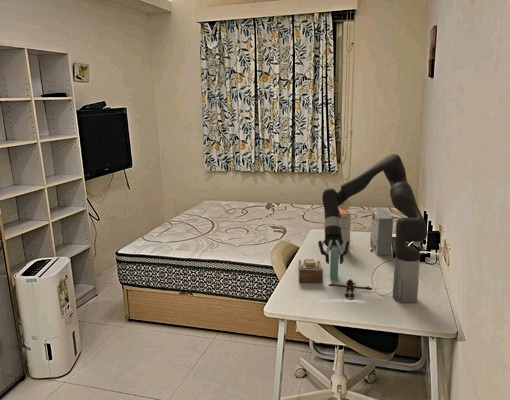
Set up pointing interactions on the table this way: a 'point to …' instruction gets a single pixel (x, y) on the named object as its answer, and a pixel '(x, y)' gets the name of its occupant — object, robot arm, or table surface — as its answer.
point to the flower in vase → (345, 205)
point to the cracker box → (345, 227)
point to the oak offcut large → (308, 267)
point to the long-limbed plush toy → (350, 288)
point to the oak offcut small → (309, 262)
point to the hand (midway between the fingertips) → (334, 263)
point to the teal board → (334, 263)
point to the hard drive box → (381, 232)
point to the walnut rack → (310, 274)
